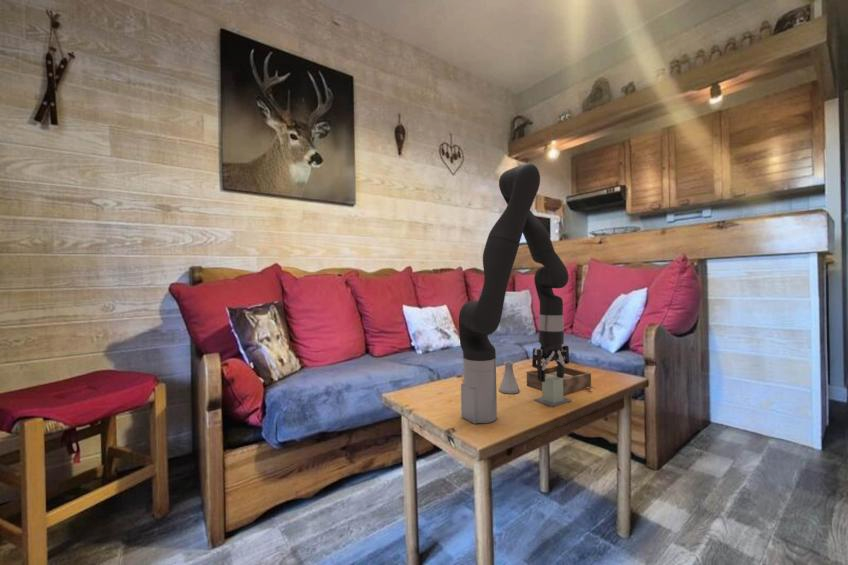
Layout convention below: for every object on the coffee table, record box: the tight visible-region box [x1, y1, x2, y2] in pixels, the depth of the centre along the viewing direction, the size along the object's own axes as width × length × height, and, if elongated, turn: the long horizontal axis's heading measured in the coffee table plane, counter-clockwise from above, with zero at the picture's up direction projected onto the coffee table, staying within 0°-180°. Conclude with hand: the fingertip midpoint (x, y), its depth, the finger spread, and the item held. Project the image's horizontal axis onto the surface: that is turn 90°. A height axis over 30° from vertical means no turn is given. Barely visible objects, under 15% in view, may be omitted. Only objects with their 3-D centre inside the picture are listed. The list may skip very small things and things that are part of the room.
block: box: [541, 375, 564, 403], centre depth 114 cm, size 4×4×7 cm
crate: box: [526, 364, 592, 396], centre depth 129 cm, size 17×14×5 cm
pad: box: [534, 396, 572, 408], centre depth 114 cm, size 9×7×1 cm
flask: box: [498, 361, 521, 394], centre depth 125 cm, size 7×7×10 cm
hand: (551, 379), depth 114 cm, fingers open, 8 cm apart
